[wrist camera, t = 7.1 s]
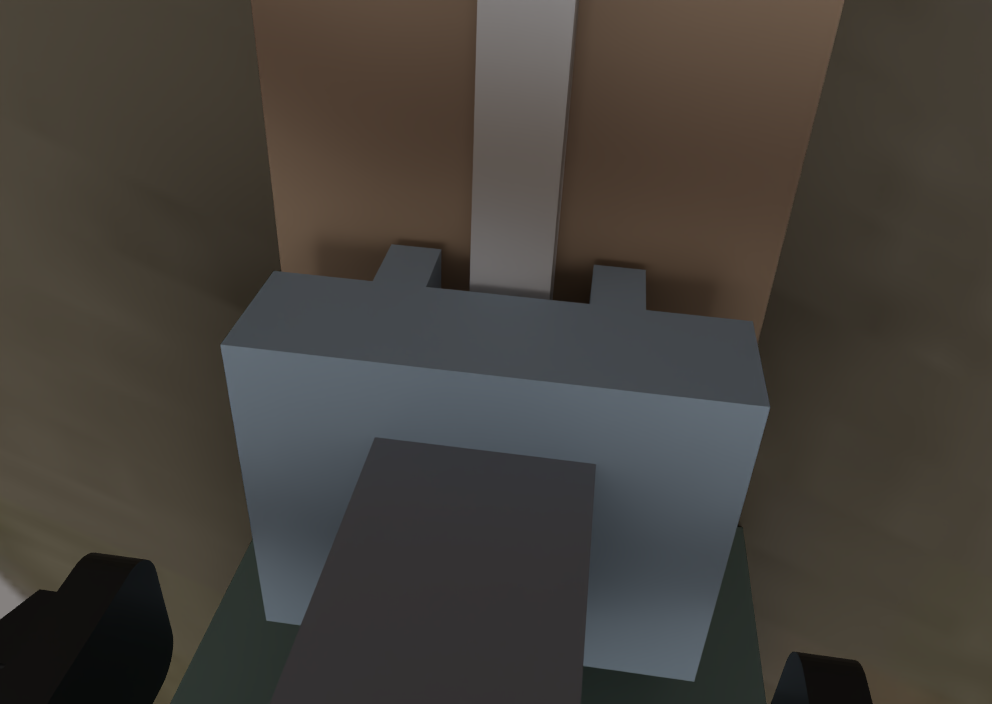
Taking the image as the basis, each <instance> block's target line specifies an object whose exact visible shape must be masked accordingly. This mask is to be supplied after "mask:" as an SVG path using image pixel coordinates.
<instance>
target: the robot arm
mask: <svg viewBox="0 0 992 704" xmlns="http://www.w3.org/2000/svg"><path fill="white" fill-rule="evenodd" d="M172 651H173V634H172V629H171V626H170V622H169V618H168V614H167V610H166V607H165V603H164V599H163V595H162V591H161V588H160V584H159V580H158V576H157V572H156V569H155V566H154V565H153V563H152V562H151V561H149V560H144V559H137V558H130V557H123V556H115V555H108V554H101V553H90V554H87V555H86V556H84V557H83V558H82V559H81V560H80V561H79V562H78V563H77V564H76V566H75V567H74V568H73V570H72V571H71V573H70V574H69V575H68V577H67V578H66V580H65V581H64V583H63V584H62V585H61V587H60V588H59V590H58V591H57V592H54V591H47V590H40V589H39V590H38V591H37V592H35V593H34V594H33V595H32V596H30V597H29V598H28V599H26V600H25V601H24V602H22V603H21V604H20V605H19V606H17V607H16V608H15V609H13V610H12V611H11V612H10V613H8V614H7V615H6V616H4V617H3V618H2V619H0V704H153V702H154V700H155V698H156V696H157V694H158V692H159V690H160V689H161V687H162V685H163V682H164V680H165V678H166V675H167V672H168V669H169V666H170V662H171V657H172ZM771 704H873V703H872V699H871V695H870V691H869V687H868V683H867V679H866V676H865V673H864V670H863V668H862V666H861V664H860V663H859V662H858V661H856V660H850V659H843V658H836V657H828V656H821V655H814V654H807V653H800V652H792V653H791V654H790V655H789V657H788V659H787V661H786V664H785V667H784V669H783V672H782V675H781V678H780V680H779V683H778V686H777V689H776V691H775V694H774V697H773V699H772V702H771Z"/></svg>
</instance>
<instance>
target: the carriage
mask: <svg viewBox="0 0 992 704" xmlns="http://www.w3.org/2000/svg"><path fill="white" fill-rule="evenodd" d="M220 345H221V351H222V357H223V363H224V369H225V375H226V381H227V387H228V393H229V399H230V405H231V411H232V417H233V423H234V429H235V435H236V441H237V447H238V453H239V459H240V465H241V471H242V477H243V483H244V489H245V495H246V501H247V507H248V513H249V519H250V525H251V531H252V537H253V543H254V549H255V555H256V561H257V567H258V573H259V579H260V585H261V591H262V597H263V603H264V609H265V615H266V621H273V622H280V623H287V624H294V625H301V626H300V628H299V631H298V633H297V636H296V638H295V641H294V643H293V646H292V648H291V651H290V653H289V656H288V658H287V661H286V664H285V666H284V669H283V671H282V674H281V676H280V679H279V681H278V684H277V686H276V689H275V691H274V694H273V696H272V699H271V702H270V704H581V693H582V677H583V666H588V667H595V668H602V669H609V670H616V671H623V672H630V673H637V674H644V675H651V676H658V677H665V678H672V679H679V680H686V681H693V682H694V680H695V677H696V673H697V670H698V666H699V662H700V659H701V655H702V652H703V648H704V644H705V641H706V637H707V634H708V630H709V626H710V623H711V619H712V615H713V612H714V608H715V605H716V601H717V597H718V594H719V590H720V587H721V583H722V579H723V576H724V572H725V569H726V565H727V561H728V558H729V554H730V550H731V547H732V543H733V540H734V536H735V532H736V529H737V525H738V522H739V518H740V514H741V511H742V507H743V504H744V500H745V496H746V493H747V489H748V485H749V482H750V478H751V475H752V471H753V467H754V464H755V460H756V457H757V453H758V449H759V446H760V442H761V439H762V435H763V431H764V428H765V424H766V420H767V417H768V413H769V410H770V404H769V399H768V394H767V389H766V384H765V379H764V374H763V369H762V364H761V359H760V354H759V349H758V344H757V339H756V334H755V329H754V325H753V321H745V320H736V319H726V318H717V317H707V316H698V315H689V314H679V313H670V312H660V311H651V310H646V270H641V269H631V268H622V267H612V266H602V265H594V267H593V276H592V284H591V293H590V301H589V304H584V303H575V302H565V301H556V300H546V299H537V298H527V297H518V296H508V295H499V294H489V293H480V292H470V291H461V290H451V289H442V288H441V249H434V248H424V247H414V246H404V245H394V244H392V245H391V246H390V248H389V250H388V252H387V254H386V256H385V258H384V260H383V262H382V264H381V266H380V268H379V270H378V272H377V273H376V275H375V277H374V279H373V281H366V280H356V279H347V278H337V277H328V276H318V275H309V274H299V273H290V272H280V271H273V273H272V274H271V275H270V277H269V278H268V280H267V281H266V282H265V284H264V285H263V286H262V288H261V289H260V291H259V292H258V293H257V295H256V296H255V297H254V299H253V300H252V302H251V303H250V304H249V306H248V307H247V309H246V310H245V311H244V313H243V314H242V315H241V317H240V318H239V320H238V321H237V322H236V324H235V325H234V326H233V328H232V329H231V331H230V332H229V333H228V335H227V336H226V338H225V339H224V340H223V342H222V343H221V344H220Z"/></svg>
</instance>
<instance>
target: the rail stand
mask: <svg viewBox="0 0 992 704" xmlns="http://www.w3.org/2000/svg"><path fill="white" fill-rule="evenodd" d="M844 1H845V0H251V6H252V15H253V24H254V33H255V42H256V51H257V59H258V68H259V77H260V86H261V95H262V104H263V113H264V122H265V131H266V139H267V148H268V157H269V166H270V175H271V184H272V193H273V202H274V211H275V220H276V228H277V237H278V246H279V255H280V264H281V272H290V273H299V274H309V275H318V276H328V277H337V278H347V279H356V280H366V281H373V279H374V277H375V275H376V273H377V272H378V270H379V268H380V266H381V264H382V262H383V260H384V258H385V256H386V254H387V252H388V250H389V248H390V246H391V245H392V244H394V245H404V246H414V247H424V248H434V249H441V288H442V289H451V290H461V291H470V292H480V293H489V294H499V295H508V296H518V297H527V298H537V299H546V300H556V301H565V302H575V303H584V304H589V301H590V293H591V284H592V276H593V267H594V265H602V266H612V267H622V268H631V269H641V270H646V310H651V311H660V312H670V313H679V314H689V315H698V316H707V317H717V318H726V319H736V320H745V321H753V325H754V329H755V334H756V339H757V344H758V340H759V336H760V332H761V329H762V325H763V321H764V317H765V313H766V309H767V305H768V301H769V297H770V293H771V289H772V285H773V281H774V277H775V273H776V269H777V265H778V261H779V258H780V254H781V250H782V246H783V242H784V238H785V234H786V230H787V226H788V222H789V218H790V214H791V210H792V206H793V202H794V198H795V194H796V190H797V186H798V183H799V179H800V175H801V171H802V167H803V163H804V159H805V155H806V151H807V147H808V143H809V139H810V135H811V131H812V127H813V123H814V119H815V115H816V111H817V108H818V104H819V100H820V96H821V92H822V88H823V84H824V80H825V76H826V72H827V68H828V64H829V60H830V56H831V52H832V48H833V44H834V40H835V37H836V33H837V29H838V25H839V21H840V17H841V13H842V9H843V5H844Z"/></svg>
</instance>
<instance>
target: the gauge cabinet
mask: <svg viewBox="0 0 992 704" xmlns="http://www.w3.org/2000/svg"><path fill="white" fill-rule="evenodd" d="M300 626H301V625H294V624H287V623H280V622H273V621H266V615H265V609H264V603H263V597H262V591H261V585H260V579H259V573H258V567H257V561H256V555H255V549H254V543H253V539H252V541H251V543H250V545H249V547H248V549H247V551H246V553H245V555H244V557H243V559H242V561H241V563H240V565H239V567H238V569H237V571H236V573H235V575H234V577H233V579H232V581H231V583H230V585H229V587H228V589H227V591H226V593H225V595H224V597H223V599H222V601H221V603H220V605H219V607H218V609H217V611H216V613H215V615H214V617H213V619H212V621H211V623H210V625H209V627H208V629H207V631H206V633H205V635H204V637H203V639H202V641H201V643H200V645H199V647H198V649H197V651H196V653H195V655H194V657H193V659H192V661H191V663H190V665H189V667H188V669H187V671H186V673H185V675H184V677H183V679H182V681H181V683H180V685H179V687H178V689H177V691H176V693H175V695H174V697H173V699H172V701H171V703H170V704H270V702H271V699H272V696H273V694H274V691H275V689H276V686H277V684H278V681H279V679H280V676H281V674H282V671H283V669H284V666H285V664H286V661H287V658H288V656H289V653H290V651H291V648H292V646H293V643H294V641H295V638H296V636H297V633H298V631H299V628H300ZM581 704H766V698H765V690H764V683H763V676H762V668H761V661H760V653H759V646H758V638H757V631H756V623H755V616H754V608H753V601H752V593H751V586H750V579H749V571H748V564H747V556H746V549H745V541H744V534H743V527H737V529H736V532H735V536H734V540H733V543H732V547H731V550H730V554H729V558H728V561H727V565H726V569H725V572H724V576H723V579H722V583H721V587H720V590H719V594H718V597H717V601H716V605H715V608H714V612H713V615H712V619H711V623H710V626H709V630H708V634H707V637H706V641H705V644H704V648H703V652H702V655H701V659H700V662H699V666H698V670H697V673H696V677H695V680H694V682H693V681H686V680H679V679H672V678H665V677H658V676H651V675H644V674H637V673H630V672H623V671H616V670H609V669H602V668H595V667H588V666H583V677H582V693H581Z"/></svg>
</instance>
